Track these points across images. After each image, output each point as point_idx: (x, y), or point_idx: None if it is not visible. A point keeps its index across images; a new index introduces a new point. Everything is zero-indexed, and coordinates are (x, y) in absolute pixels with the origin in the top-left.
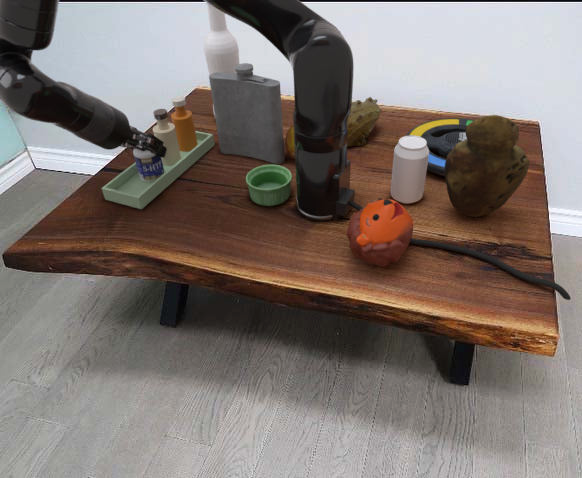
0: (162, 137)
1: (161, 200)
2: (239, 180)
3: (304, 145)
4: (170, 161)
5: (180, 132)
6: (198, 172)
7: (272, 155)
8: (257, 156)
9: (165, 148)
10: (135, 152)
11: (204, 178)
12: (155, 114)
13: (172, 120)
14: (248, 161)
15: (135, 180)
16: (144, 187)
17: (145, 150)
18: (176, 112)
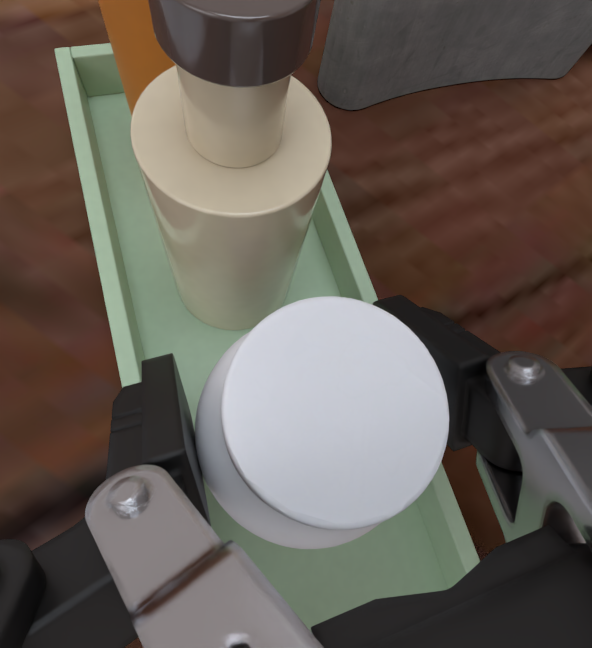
0: (293, 224)
1: (485, 543)
2: (571, 216)
3: None
4: (282, 299)
5: None
6: (401, 265)
7: (576, 47)
8: (493, 71)
9: (447, 318)
10: (308, 536)
11: (462, 283)
12: (250, 20)
13: (148, 20)
14: (478, 107)
15: (239, 544)
16: (348, 552)
17: (497, 513)
18: None
